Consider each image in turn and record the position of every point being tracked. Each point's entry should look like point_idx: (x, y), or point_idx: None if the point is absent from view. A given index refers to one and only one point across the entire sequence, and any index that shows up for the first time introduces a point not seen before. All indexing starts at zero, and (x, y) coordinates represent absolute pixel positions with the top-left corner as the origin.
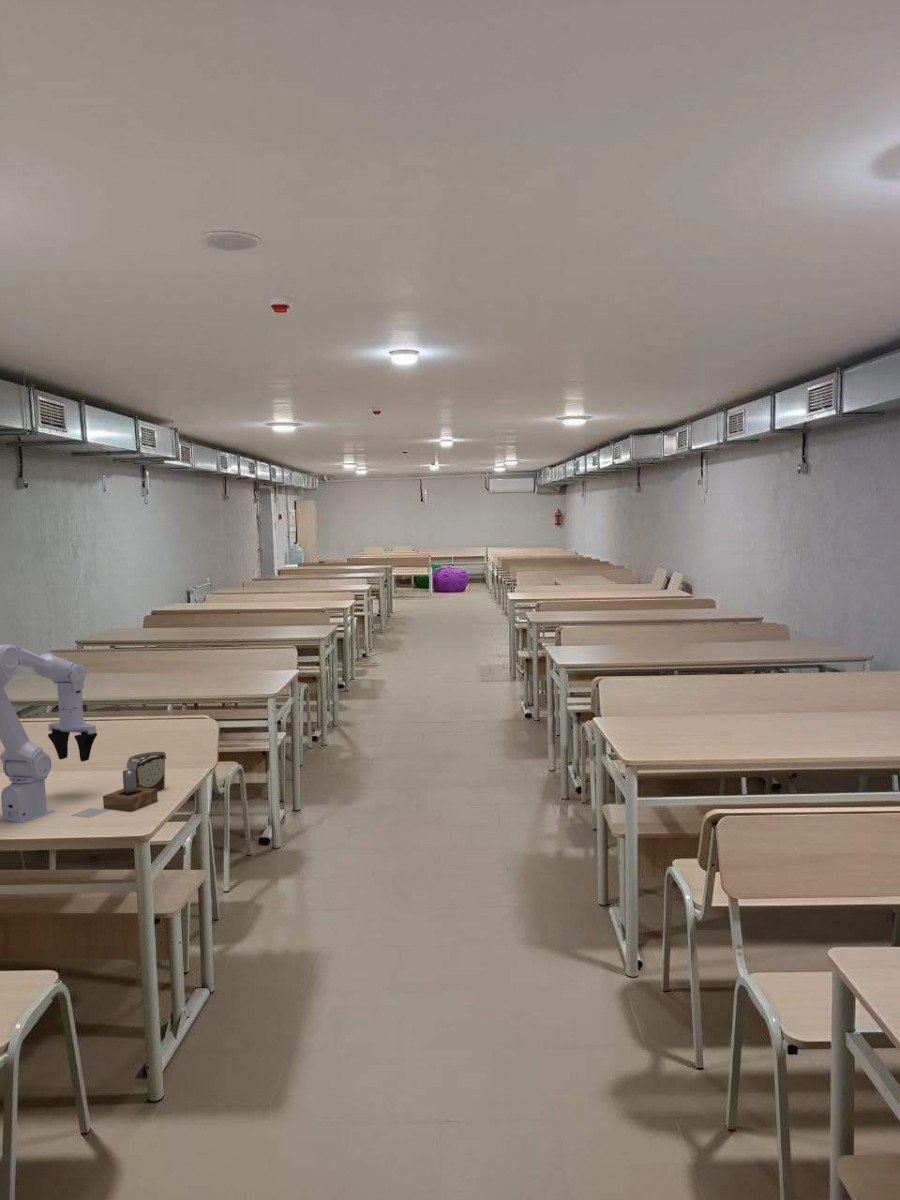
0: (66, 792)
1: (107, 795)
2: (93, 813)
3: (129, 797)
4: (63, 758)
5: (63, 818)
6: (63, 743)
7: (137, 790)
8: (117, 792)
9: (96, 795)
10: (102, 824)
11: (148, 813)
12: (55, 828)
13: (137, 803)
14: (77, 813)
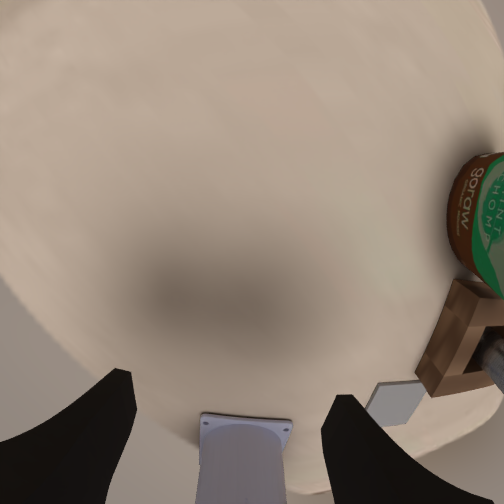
0: (146, 238)
1: (441, 390)
2: (405, 406)
3: (490, 378)
4: (134, 396)
5: None
6: (88, 471)
7: (501, 324)
8: (461, 362)
9: (312, 255)
10: (436, 424)
11: None
12: None
13: None
14: None
